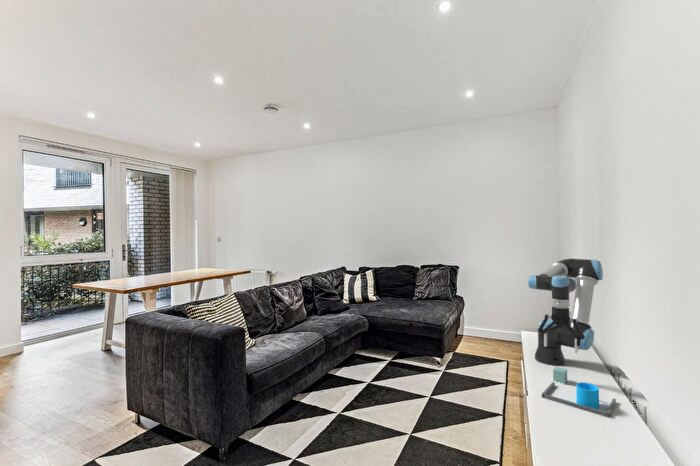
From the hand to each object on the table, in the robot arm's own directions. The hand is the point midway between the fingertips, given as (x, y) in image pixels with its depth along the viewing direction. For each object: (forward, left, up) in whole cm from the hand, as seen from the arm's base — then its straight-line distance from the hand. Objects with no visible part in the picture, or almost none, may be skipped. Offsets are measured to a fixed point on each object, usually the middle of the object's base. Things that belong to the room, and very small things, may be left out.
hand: (560, 349), depth 176 cm
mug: (+17, +14, -17) cm, 27 cm away
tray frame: (+16, +11, -16) cm, 25 cm away
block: (0, 0, -16) cm, 16 cm away
